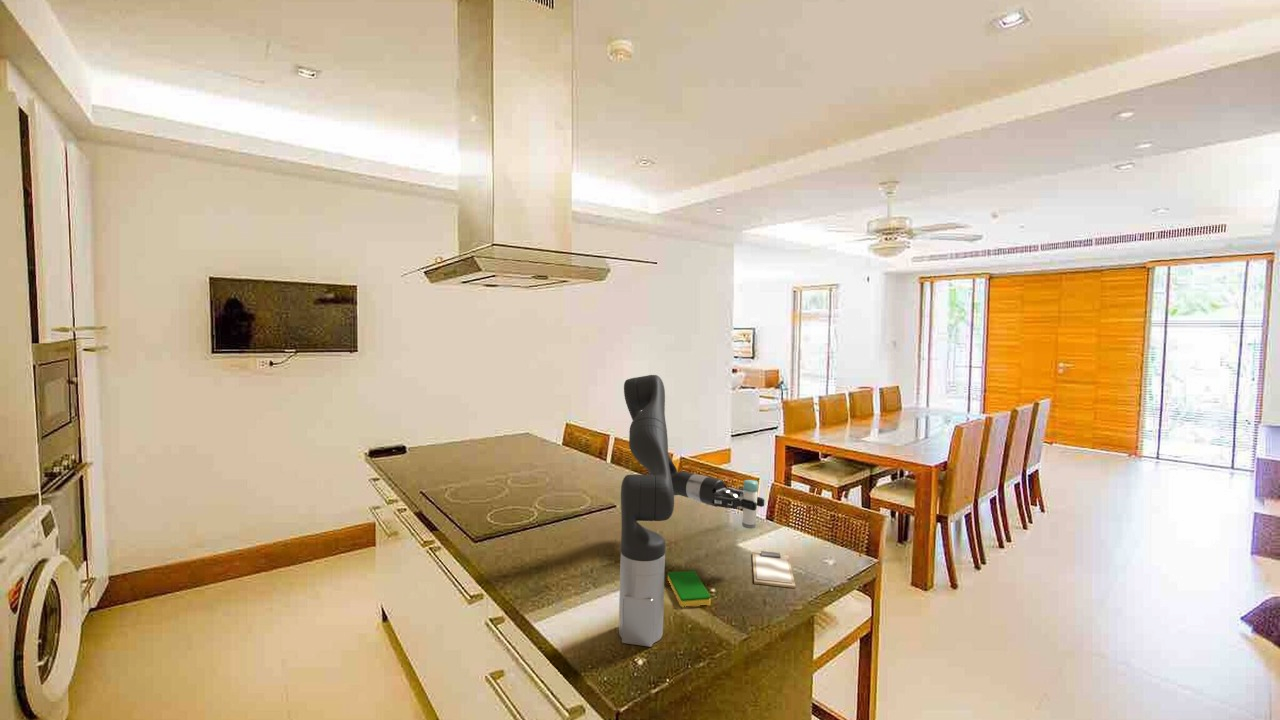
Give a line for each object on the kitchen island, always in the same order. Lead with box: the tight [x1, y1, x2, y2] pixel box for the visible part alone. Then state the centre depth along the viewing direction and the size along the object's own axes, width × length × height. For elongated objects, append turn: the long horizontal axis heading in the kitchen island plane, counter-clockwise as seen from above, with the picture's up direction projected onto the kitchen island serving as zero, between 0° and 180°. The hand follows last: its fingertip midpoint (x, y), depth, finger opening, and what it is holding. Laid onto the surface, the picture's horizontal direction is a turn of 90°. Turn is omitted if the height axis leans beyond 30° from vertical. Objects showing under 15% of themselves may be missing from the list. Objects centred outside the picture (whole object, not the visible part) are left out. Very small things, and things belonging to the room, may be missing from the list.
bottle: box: [741, 479, 759, 529], centre depth 140 cm, size 4×4×12 cm
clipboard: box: [752, 550, 796, 589], centre depth 140 cm, size 18×10×1 cm, turn 169°
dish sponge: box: [667, 570, 712, 608], centre depth 127 cm, size 7×14×2 cm, turn 10°
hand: (759, 504), depth 138 cm, fingers closed on bottle, 3 cm apart
